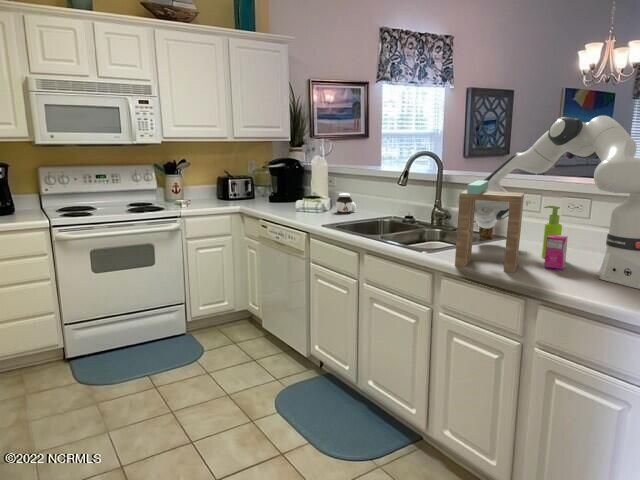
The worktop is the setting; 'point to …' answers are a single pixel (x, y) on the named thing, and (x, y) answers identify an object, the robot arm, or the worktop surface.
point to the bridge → (468, 222)
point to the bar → (477, 187)
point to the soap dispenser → (551, 227)
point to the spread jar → (345, 204)
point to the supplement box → (555, 252)
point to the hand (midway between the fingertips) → (481, 193)
